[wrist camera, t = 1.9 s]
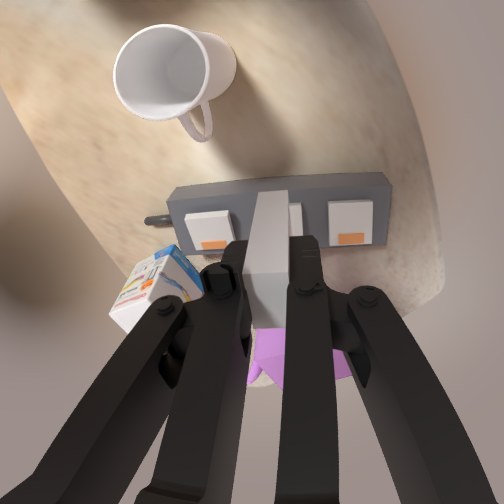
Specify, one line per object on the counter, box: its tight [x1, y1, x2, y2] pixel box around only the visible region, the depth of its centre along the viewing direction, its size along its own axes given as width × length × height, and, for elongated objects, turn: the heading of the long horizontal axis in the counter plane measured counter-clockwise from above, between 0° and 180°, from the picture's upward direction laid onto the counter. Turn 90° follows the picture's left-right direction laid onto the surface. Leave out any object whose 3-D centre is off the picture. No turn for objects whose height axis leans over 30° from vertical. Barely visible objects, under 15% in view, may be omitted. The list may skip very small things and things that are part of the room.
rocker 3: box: [328, 199, 373, 246], centre depth 33 cm, size 5×5×1 cm
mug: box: [113, 24, 236, 142], centre depth 25 cm, size 12×8×12 cm
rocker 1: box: [184, 210, 236, 250], centre depth 35 cm, size 5×5×1 cm
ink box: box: [109, 245, 204, 334], centre depth 42 cm, size 9×8×12 cm
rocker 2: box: [289, 203, 303, 236], centre depth 34 cm, size 5×5×1 cm
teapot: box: [247, 328, 352, 390], centre depth 45 cm, size 20×10×12 cm, turn 118°
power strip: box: [144, 172, 392, 256], centre depth 37 cm, size 8×32×4 cm, turn 98°
